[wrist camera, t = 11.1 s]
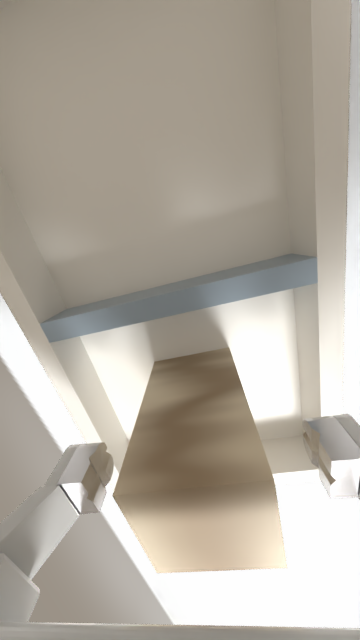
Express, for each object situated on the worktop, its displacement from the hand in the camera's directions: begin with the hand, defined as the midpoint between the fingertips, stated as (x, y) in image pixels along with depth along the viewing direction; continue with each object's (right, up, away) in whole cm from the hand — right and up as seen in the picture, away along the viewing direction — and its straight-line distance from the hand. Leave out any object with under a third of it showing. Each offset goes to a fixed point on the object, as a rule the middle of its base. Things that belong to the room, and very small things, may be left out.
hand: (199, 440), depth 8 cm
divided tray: (-1, +7, +3) cm, 8 cm away
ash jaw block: (0, +1, +4) cm, 4 cm away
